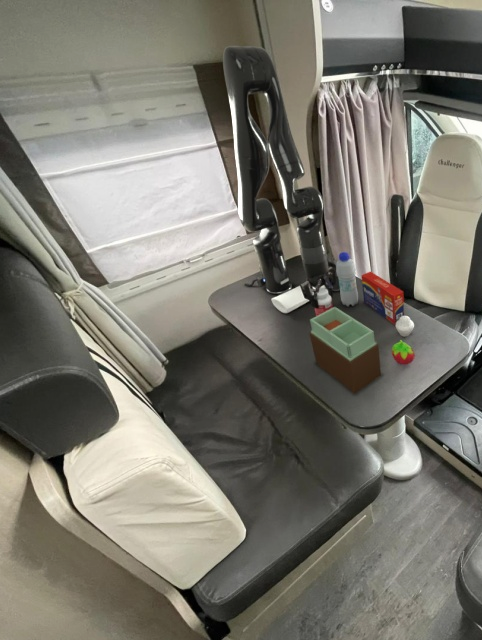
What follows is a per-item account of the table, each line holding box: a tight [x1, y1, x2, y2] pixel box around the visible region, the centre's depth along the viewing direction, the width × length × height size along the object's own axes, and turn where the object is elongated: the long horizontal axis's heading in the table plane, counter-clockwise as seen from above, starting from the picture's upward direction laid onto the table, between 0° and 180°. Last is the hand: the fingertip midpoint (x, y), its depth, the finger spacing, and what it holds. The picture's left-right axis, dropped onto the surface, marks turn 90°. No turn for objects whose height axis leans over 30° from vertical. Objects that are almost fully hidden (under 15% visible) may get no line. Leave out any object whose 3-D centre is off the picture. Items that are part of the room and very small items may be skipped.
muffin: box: [394, 315, 415, 337], centre depth 119 cm, size 6×6×7 cm
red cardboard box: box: [361, 271, 405, 326], centre depth 127 cm, size 18×4×12 cm, turn 42°
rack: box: [308, 306, 382, 395], centre depth 103 cm, size 18×10×17 cm, turn 47°
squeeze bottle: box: [270, 285, 326, 314], centre depth 134 cm, size 10×20×5 cm, turn 139°
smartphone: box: [327, 276, 340, 293], centre depth 145 cm, size 8×1×15 cm
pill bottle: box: [314, 288, 334, 317], centre depth 124 cm, size 6×6×11 cm
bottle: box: [335, 251, 359, 307], centre depth 128 cm, size 7×7×20 cm
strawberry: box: [391, 339, 415, 366], centre depth 107 cm, size 6×7×10 cm
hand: (323, 302), depth 123 cm, fingers closed on pill bottle, 6 cm apart
